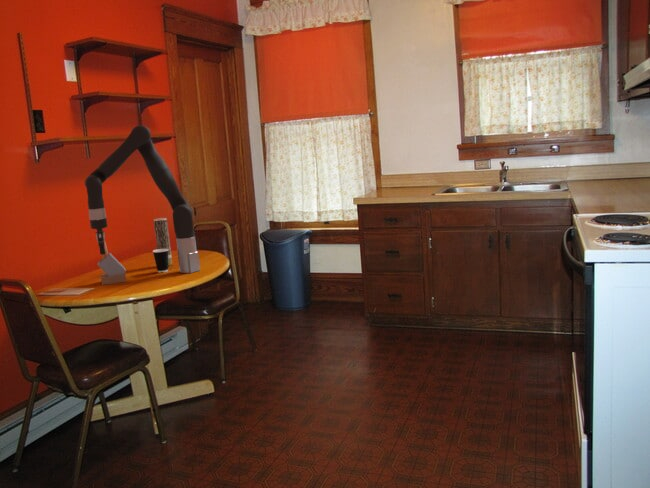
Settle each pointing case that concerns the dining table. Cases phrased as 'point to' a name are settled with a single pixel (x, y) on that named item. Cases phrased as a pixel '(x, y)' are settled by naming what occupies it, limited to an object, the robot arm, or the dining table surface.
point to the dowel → (105, 252)
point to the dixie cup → (161, 259)
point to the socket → (111, 270)
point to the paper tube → (162, 236)
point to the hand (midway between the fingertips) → (102, 253)
